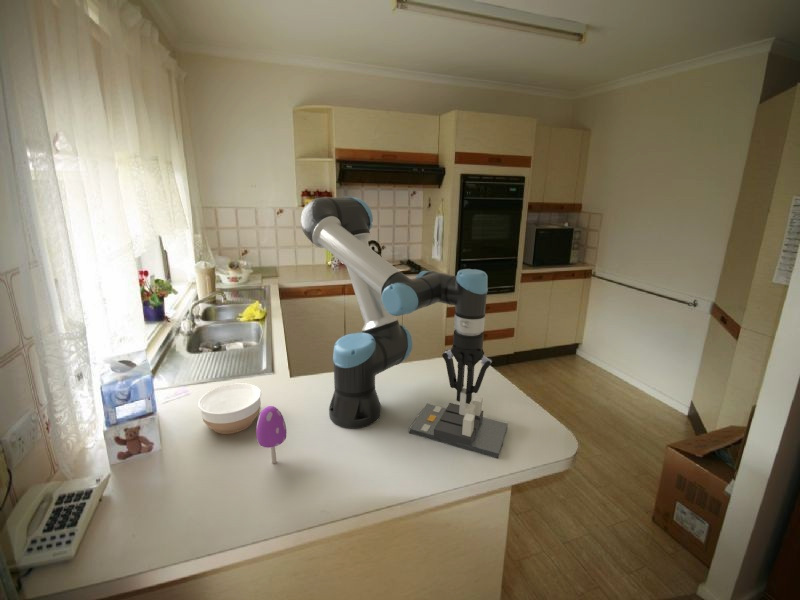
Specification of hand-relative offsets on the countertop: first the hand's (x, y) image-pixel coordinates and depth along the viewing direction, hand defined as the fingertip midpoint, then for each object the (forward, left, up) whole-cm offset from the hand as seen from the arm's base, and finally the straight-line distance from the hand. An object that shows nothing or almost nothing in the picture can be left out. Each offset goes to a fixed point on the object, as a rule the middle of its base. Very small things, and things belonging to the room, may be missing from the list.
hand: (463, 412), depth 105 cm
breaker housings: (-1, 0, -5) cm, 5 cm away
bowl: (-60, -23, -6) cm, 64 cm away
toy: (-38, -31, -6) cm, 50 cm away
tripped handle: (+2, 0, -2) cm, 3 cm away
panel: (-1, 0, -6) cm, 6 cm away
